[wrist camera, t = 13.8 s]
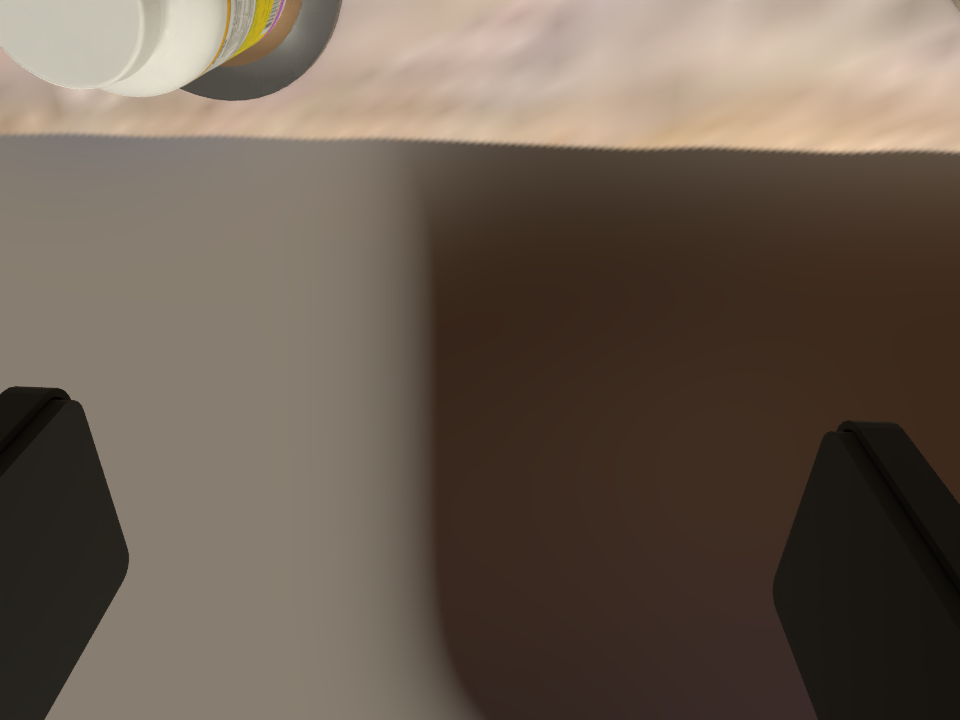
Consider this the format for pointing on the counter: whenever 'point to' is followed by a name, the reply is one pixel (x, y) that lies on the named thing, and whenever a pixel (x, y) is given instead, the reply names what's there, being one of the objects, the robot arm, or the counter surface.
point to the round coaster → (273, 54)
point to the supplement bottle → (131, 40)
